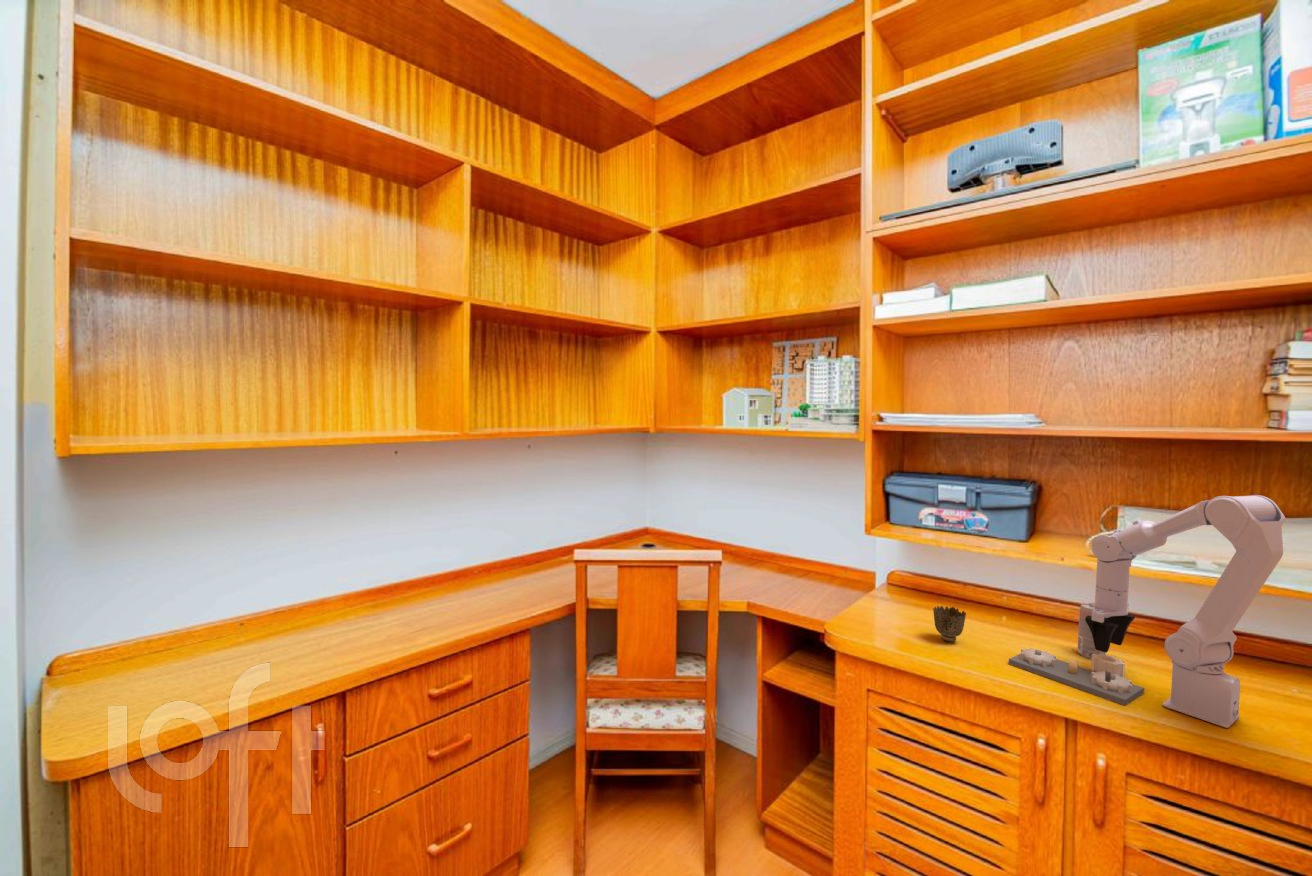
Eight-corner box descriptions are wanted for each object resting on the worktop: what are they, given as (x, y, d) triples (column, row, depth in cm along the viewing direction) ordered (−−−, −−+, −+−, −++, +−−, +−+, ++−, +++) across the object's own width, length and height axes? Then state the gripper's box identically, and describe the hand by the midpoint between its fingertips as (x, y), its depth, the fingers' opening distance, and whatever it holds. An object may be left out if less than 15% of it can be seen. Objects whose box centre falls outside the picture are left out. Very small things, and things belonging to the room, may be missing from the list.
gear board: (1143, 693, 118) (1145, 672, 118) (1125, 705, 113) (1126, 683, 113) (1029, 654, 137) (1030, 636, 137) (1008, 663, 131) (1009, 644, 131)
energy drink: (1106, 655, 137) (1109, 607, 136) (1103, 662, 133) (1105, 612, 133) (1079, 649, 141) (1082, 601, 140) (1075, 655, 137) (1077, 606, 137)
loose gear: (1128, 674, 127) (1129, 660, 127) (1118, 681, 124) (1118, 666, 123) (1097, 664, 132) (1098, 651, 132) (1086, 670, 129) (1087, 656, 128)
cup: (971, 645, 142) (972, 614, 141) (946, 647, 140) (947, 616, 140) (950, 634, 149) (951, 604, 149) (925, 636, 147) (927, 605, 147)
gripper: (1103, 578, 134) (1100, 634, 135) (1076, 588, 126) (1073, 647, 127) (1141, 586, 128) (1137, 645, 129) (1115, 597, 120) (1111, 659, 121)
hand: (1108, 647), depth 128 cm, fingers open, 7 cm apart
